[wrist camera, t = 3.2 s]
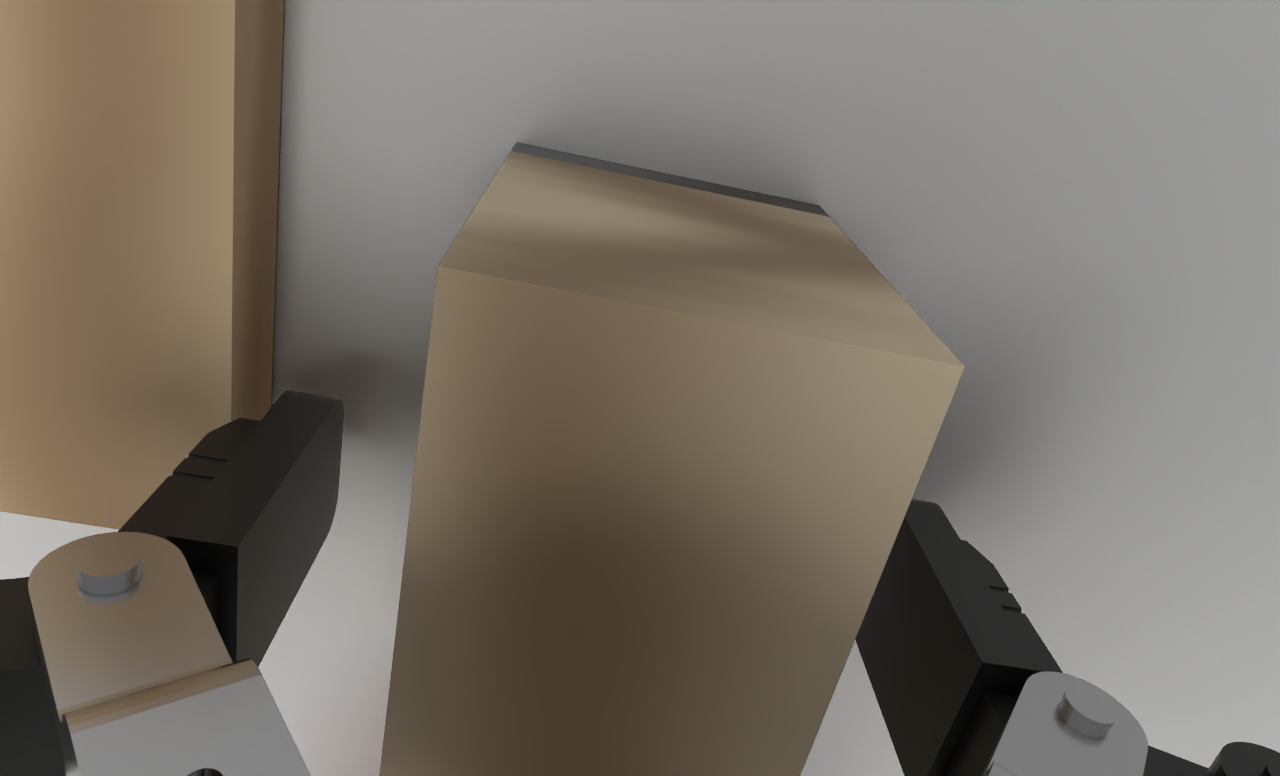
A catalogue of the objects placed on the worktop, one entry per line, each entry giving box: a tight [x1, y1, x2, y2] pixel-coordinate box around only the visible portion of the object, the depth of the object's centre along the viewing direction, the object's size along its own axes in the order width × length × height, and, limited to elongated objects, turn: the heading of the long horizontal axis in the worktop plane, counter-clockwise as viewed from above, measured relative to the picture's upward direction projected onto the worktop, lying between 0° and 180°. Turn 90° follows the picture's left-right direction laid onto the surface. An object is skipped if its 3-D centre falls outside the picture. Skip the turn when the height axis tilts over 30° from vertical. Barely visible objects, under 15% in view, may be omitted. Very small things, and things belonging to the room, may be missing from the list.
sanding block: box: [380, 142, 965, 776], centre depth 12 cm, size 4×9×6 cm, turn 168°
